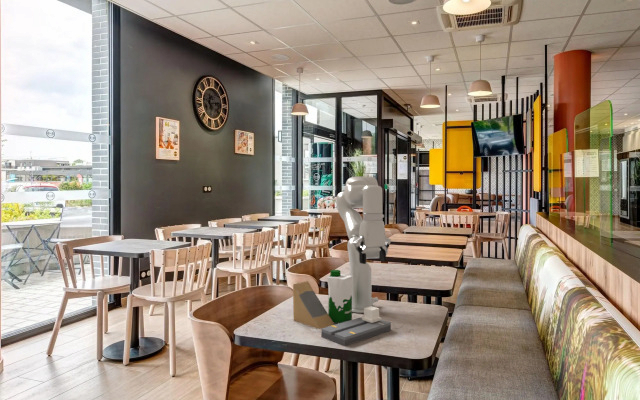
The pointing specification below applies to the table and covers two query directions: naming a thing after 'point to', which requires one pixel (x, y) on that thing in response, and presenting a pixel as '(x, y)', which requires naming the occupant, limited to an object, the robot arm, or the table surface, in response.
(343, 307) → the milk carton
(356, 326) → the fader console
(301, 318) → the sandwich container
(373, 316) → the fader knob
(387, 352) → the table surface
